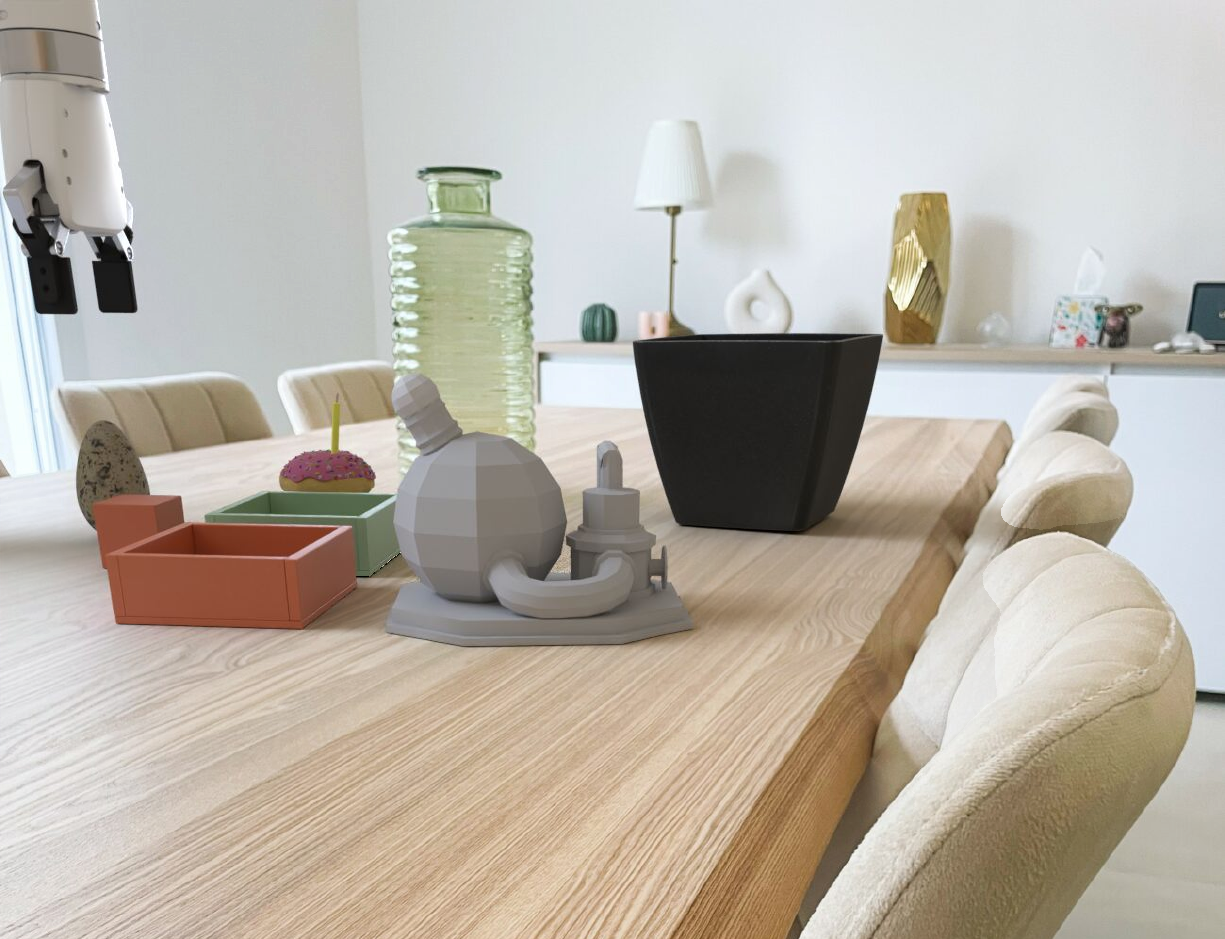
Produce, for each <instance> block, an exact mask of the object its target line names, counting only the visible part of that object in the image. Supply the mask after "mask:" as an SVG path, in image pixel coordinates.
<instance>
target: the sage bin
mask: <svg viewBox="0 0 1225 939" xmlns="http://www.w3.org/2000/svg"><path fill="white" fill-rule="evenodd" d="M396 498H397V492H395V493H394V492H393V493H392V492H369V493H348V492H298V491H284V490H261V491H258V492H256V493H254V494H252V495H250V496H247V497H245V498H242V499H240V500H237V501H234V502H231V503H229V504H227V505H225V506H222V507H221V508H217V509H215V510H213V511H210V512H207V513H204V515H203V516H204V523H245V524H290V525H335V526H352V527H353V540H354V553H355V566H356V576H371V575H372V574H373V573H374V572H376V571H377V570H379V569H380V568H381V567H382V566H383V565H385V564H386V563H387V562H388V561H389V560H390V559H392V558H393V557H394V556H396V555H398V554H399V553H400V552H401V550H400V546H399V543H398V539H397V535H396V531H395V527H394V523H393V520H394V512H395V505H396ZM398 556H399V555H398ZM385 566H386V565H385ZM381 569H382V568H381ZM381 569H380V570H381ZM380 570H379V571H380ZM377 572H378V571H377ZM377 572H376V573H377ZM373 575H374V574H373ZM373 575H372V576H373ZM372 576H371V577H372Z"/></svg>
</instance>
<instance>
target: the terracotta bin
mask: <svg viewBox="0 0 1225 939" xmlns="http://www.w3.org/2000/svg"><path fill="white" fill-rule="evenodd" d="M184 522H185V523H182V524H180V525H178V526H175V527H173V528H170V529H168V530H165V531H163V532H160V533H158V534H155V535H153V536H150V537H148V538H146V539H143V540H141V541H138V542H136V543H133V544H131V545H128V546H126V547H123V548H121V549H119V550H116V551H114V552H111V553H109V554H106V555H105V558H106V565H107V568H106V569H107V578H108V583H109V590H110V598H111V603H112V610H113V615H114V621H115V622H114V623H115V624H120V625H121V624H122V625H123V624H124V625H153V626H156V625H158V626H186V627H187V626H188V627H190V626H192V627H223V628H224V627H226V628H254V629H255V628H259V629H261V628H263V629H288V630H289V629H290V630H291V629H292V630H294V629H295V630H303V629H304V628H305V627H307V626H309V624H310V623H312V622H313V621H315V620H316V619H317V618H318V617H320V616H321V615H322V614H324V613H325V612H326V611H328V610H329V609H330V608H331V607H333V606H334V605H336V604H337V603H339V601H341V600H342V599H343V598H345V597H346V596H348V594H349V592H350V593H351V592H353V591H354V590H355V589H357V588H358V581H357V577H356V566H355V553H354V540H353V527H352V526H335V525H290V524H245V523H205V522H198V521H197V522H195V521H184ZM354 588H355V589H354ZM353 589H354V590H353ZM344 596H345V597H344ZM332 605H333V606H332Z"/></svg>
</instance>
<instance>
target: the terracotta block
mask: <svg viewBox="0 0 1225 939" xmlns="http://www.w3.org/2000/svg"><path fill="white" fill-rule="evenodd" d="M182 500H183V498H182V495H176V494H175V495H174V494H173V495H172V494H171V495H169V494H168V495H167V494H150V495H127V494H122V495H119V496H116V497H113V498H109V499H106V500H103V501H100V502H97V503H94V504H93V510H94V517H95V523H96V529H97V531H96V536H97V542H98V547H99V554H100V560H101V567H102V569H107V565H106V558H105V555H106V554H109V553H111V552H114V551H116V550H119V549H121V548H123V547H126V546H128V545H131V544H133V543H136V542H138V541H141V540H143V539H146V538H148V537H150V536H153V535H155V534H158V533H160V532H163V531H165V530H168V529H170V528H173V527H175V526H178V525H180V524H182V523H185V522H186V521H185V515H184V507H183V501H182Z"/></svg>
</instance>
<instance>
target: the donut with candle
mask: <svg viewBox="0 0 1225 939" xmlns="http://www.w3.org/2000/svg"><path fill="white" fill-rule="evenodd" d="M339 396H340V393H338V392H337V393H336V396H335V401H333V402H332V410H331V411H332V413H331V414H332V415H331V439H330V441H331V442H330V443H331V444H330V449H326V450H325V449H323V450H322V449H319V450H310V451H303V453H302V452H300V454H298V455H295V456H294V457H293V458H292V459H289V460H288V463H285V465H283V468H282V469H281V471H280V472H279V476H278V484H279V487H280V489H281V491H298V492H348V493H371V492H372V489H374V488H375V486H376V481H375V480H376V478H377V476H376V472H375V471H374V470H373V469H372V466H371V465H370V464H368V463H367V461H364V459H363V458H362V457H361V456H358V455H357V454H356V453H351V451H349V450H343V449H342V450H341V449H340V448H339V446H340V422H341V421H340V419H341V403H340V402H339Z"/></svg>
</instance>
